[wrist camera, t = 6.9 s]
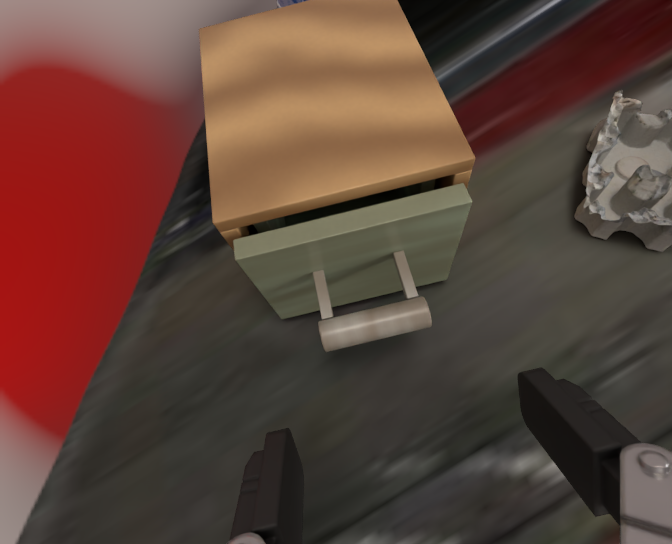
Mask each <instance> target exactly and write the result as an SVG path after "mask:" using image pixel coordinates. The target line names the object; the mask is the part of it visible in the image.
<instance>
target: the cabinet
mask: <svg viewBox="0 0 672 544" xmlns="http://www.w3.org/2000/svg"><path fill="white" fill-rule="evenodd" d="M199 38H200V51H201V66H202V79H203V93H204V108H205V122H206V136H207V150H208V163H209V177H210V191H211V205H212V219H213V224H214V225H215V227H216V228H217V229H218V231H219V232H220V233H221V235H222V236H223V237H224V239H225V240H226V241H227V243H228V244H229V245H230V247H231V248H232V249H233V251H234V245H233V240H235V239H239V238H243V237H247V236H251V235H255V234H258V232H257V230H256V228H255V227H254V225H253V224H256V223H260V222H264V221H268V220H272V219H276V218H280V217H284V216H288V215H292V214H296V213H300V212H304V211H308V210H312V209H316V208H320V207H324V206H328V205H332V204H336V203H340V202H344V201H348V200H352V199H356V198H360V197H364V196H369V195H373V194H377V193H381V192H385V191H389V190H393V189H397V188H401V187H405V186H409V185H413V184H417V183H421V182H425V181H429V180H433V179H435V185H434V190H436V189H440V188H445V187H449V186H453V185H457V184H461V183H464V185H465V187H466V189H467V186H468V182H469V179H470V175H471V172H472V168H473V164H474V161H475V156H474V154H473V152H472V150H471V148H470V146H469V144H468V142H467V140H466V138H465V136H464V134H463V132H462V130H461V128H460V126H459V124H458V122H457V120H456V118H455V116H454V114H453V112H452V110H451V108H450V106H449V104H448V102H447V100H446V98H445V96H444V94H443V92H442V90H441V88H440V85H439V83H438V81H437V79H436V77H435V75H434V73H433V71H432V69H431V67H430V65H429V63H428V61H427V59H426V57H425V55H424V53H423V51H422V49H421V47H420V45H419V43H418V41H417V39H416V37H415V35H414V33H413V31H412V29H411V27H410V25H409V23H408V21H407V19H406V17H405V15H404V13H403V11H402V9H401V7H400V5H399V3H398V1H397V0H308V1H304V2H300V3H296V4H292V5H289V6H285V7H281V8H277V9H273V10H269V11H266V12H262V13H258V14H254V15H250V16H246V17H243V18H239V19H235V20H231V21H228V22H223V23H220V24H216V25H212V26H208V27H204V28H200V29H199Z"/></svg>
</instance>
